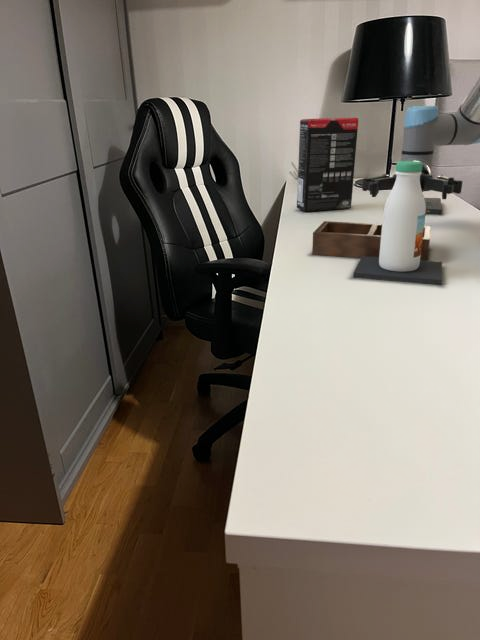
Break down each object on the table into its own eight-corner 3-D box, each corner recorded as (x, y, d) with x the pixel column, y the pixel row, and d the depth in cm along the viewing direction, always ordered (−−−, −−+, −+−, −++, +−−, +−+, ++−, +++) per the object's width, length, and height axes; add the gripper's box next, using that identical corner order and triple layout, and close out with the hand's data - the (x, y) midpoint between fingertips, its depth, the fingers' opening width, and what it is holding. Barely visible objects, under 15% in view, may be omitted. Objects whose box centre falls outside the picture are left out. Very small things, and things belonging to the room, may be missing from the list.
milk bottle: (402, 275, 94) (414, 165, 86) (370, 266, 100) (378, 162, 92) (427, 267, 98) (440, 161, 91) (395, 259, 104) (405, 158, 96)
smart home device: (413, 207, 151) (414, 196, 168) (412, 213, 151) (414, 202, 169) (442, 208, 148) (440, 197, 165) (441, 214, 149) (440, 202, 166)
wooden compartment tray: (428, 248, 115) (430, 226, 113) (426, 263, 105) (430, 239, 103) (323, 241, 123) (324, 221, 121) (312, 254, 112) (312, 232, 111)
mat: (441, 266, 102) (441, 261, 102) (441, 285, 92) (442, 279, 91) (361, 260, 107) (362, 256, 107) (353, 277, 97) (353, 272, 97)
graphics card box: (343, 205, 166) (348, 117, 156) (353, 208, 160) (359, 117, 150) (295, 209, 161) (297, 118, 151) (305, 213, 155) (307, 119, 145)
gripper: (467, 195, 116) (473, 212, 98) (358, 192, 124) (345, 207, 106) (473, 161, 113) (479, 173, 95) (360, 160, 121) (347, 170, 103)
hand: (408, 191), depth 100 cm, fingers open, 13 cm apart
